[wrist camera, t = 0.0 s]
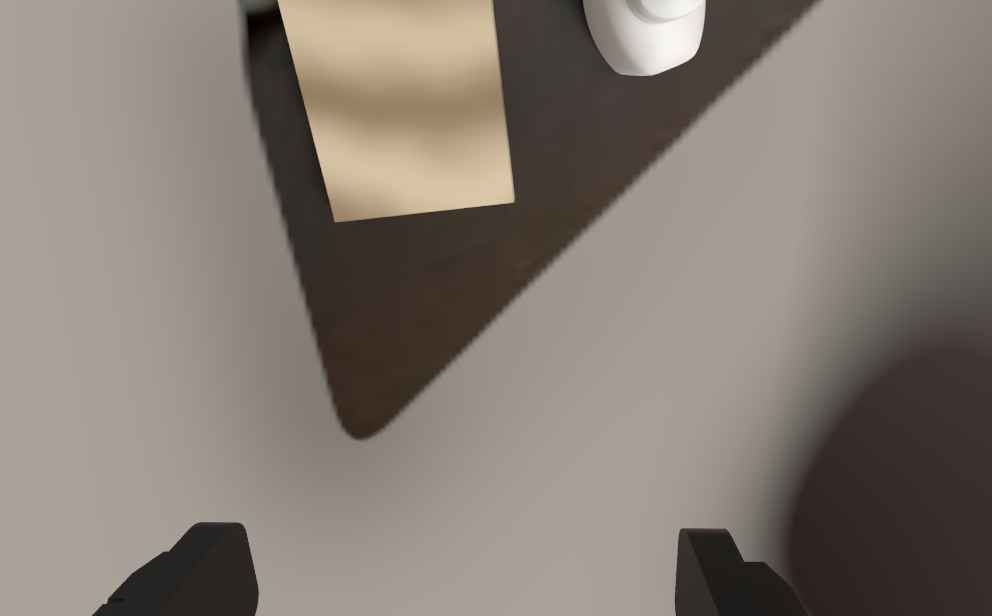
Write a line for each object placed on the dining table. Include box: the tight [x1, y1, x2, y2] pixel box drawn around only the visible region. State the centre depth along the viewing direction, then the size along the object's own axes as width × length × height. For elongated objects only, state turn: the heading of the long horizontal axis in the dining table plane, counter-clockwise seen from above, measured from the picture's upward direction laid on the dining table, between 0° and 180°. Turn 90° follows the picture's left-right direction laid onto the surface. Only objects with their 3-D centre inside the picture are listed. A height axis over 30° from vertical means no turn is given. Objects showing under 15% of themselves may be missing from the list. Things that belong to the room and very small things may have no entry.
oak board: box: [278, 0, 515, 222], centre depth 27 cm, size 12×10×1 cm
